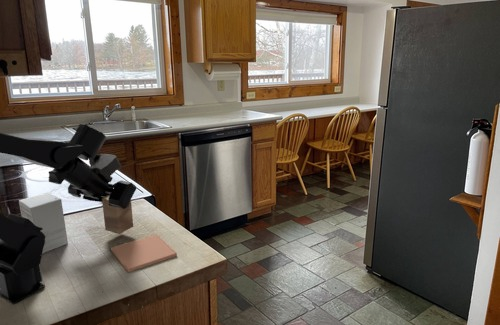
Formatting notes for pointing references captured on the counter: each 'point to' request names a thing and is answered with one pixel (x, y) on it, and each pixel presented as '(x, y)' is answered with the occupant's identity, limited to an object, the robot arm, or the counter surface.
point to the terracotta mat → (143, 252)
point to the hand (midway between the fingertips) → (121, 203)
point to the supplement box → (46, 218)
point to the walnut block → (117, 217)
